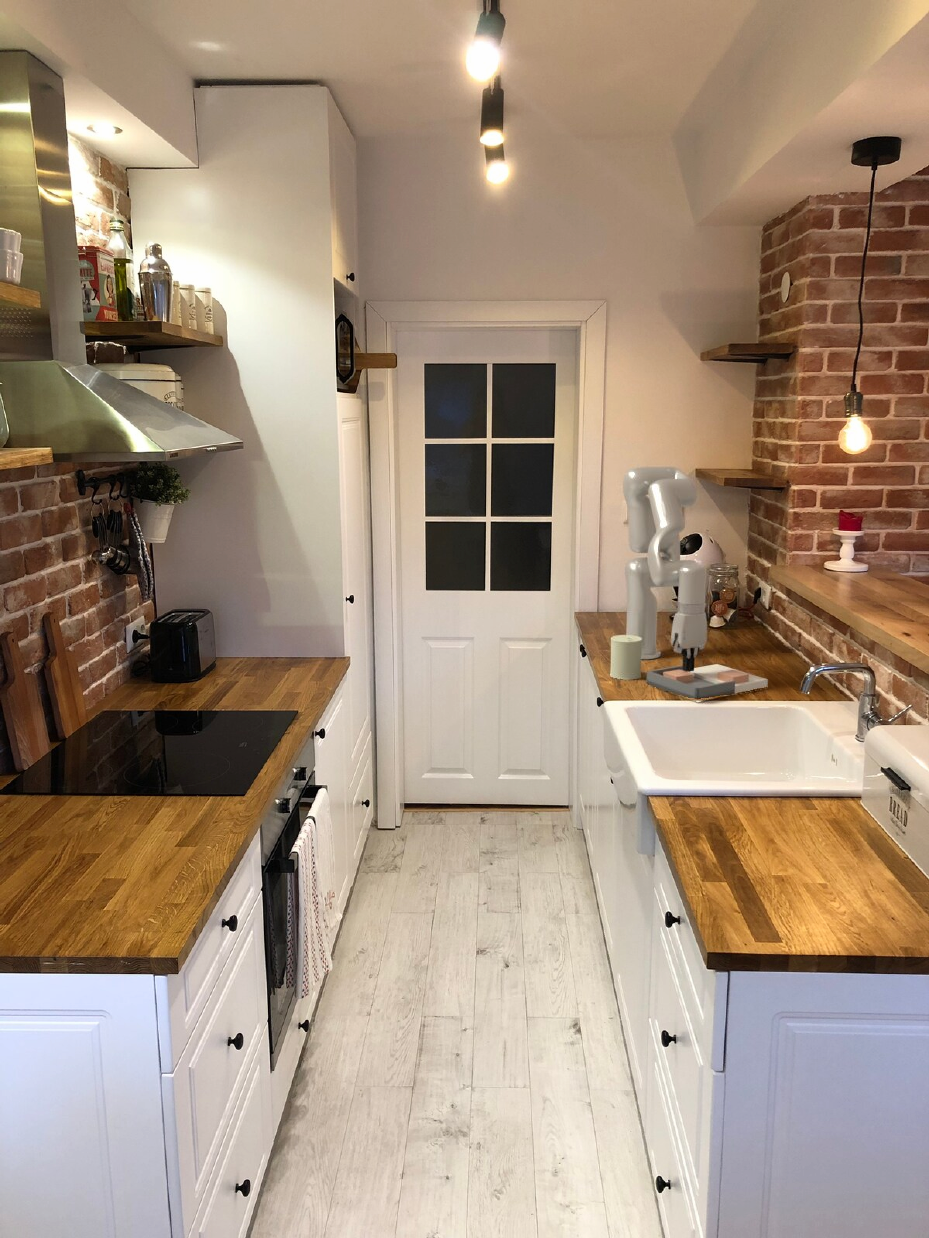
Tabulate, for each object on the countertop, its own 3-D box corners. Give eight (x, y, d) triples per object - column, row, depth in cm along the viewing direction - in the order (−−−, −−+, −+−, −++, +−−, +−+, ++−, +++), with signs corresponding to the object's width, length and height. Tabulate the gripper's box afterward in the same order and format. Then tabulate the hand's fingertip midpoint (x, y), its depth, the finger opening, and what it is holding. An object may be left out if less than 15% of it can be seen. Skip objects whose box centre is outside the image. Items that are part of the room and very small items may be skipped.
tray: (646, 684, 280) (646, 671, 279) (683, 677, 286) (683, 664, 286) (696, 702, 262) (697, 688, 261) (734, 695, 269) (735, 681, 268)
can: (617, 681, 284) (618, 641, 281) (604, 673, 292) (605, 634, 290) (646, 678, 286) (647, 639, 284) (633, 670, 295) (634, 632, 292)
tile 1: (662, 678, 280) (663, 672, 280) (679, 676, 283) (679, 669, 283) (676, 683, 275) (676, 676, 275) (693, 681, 278) (693, 674, 277)
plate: (684, 678, 286) (684, 669, 286) (716, 672, 293) (717, 664, 292) (733, 694, 269) (734, 686, 269) (767, 687, 276) (767, 679, 275)
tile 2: (717, 679, 276) (717, 672, 275) (732, 676, 278) (733, 669, 278) (732, 684, 270) (733, 677, 270) (748, 681, 273) (748, 674, 273)
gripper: (701, 603, 283) (698, 663, 288) (662, 608, 276) (659, 670, 280) (720, 607, 277) (716, 669, 281) (680, 613, 270) (677, 677, 274)
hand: (688, 670), depth 281 cm, fingers closed
